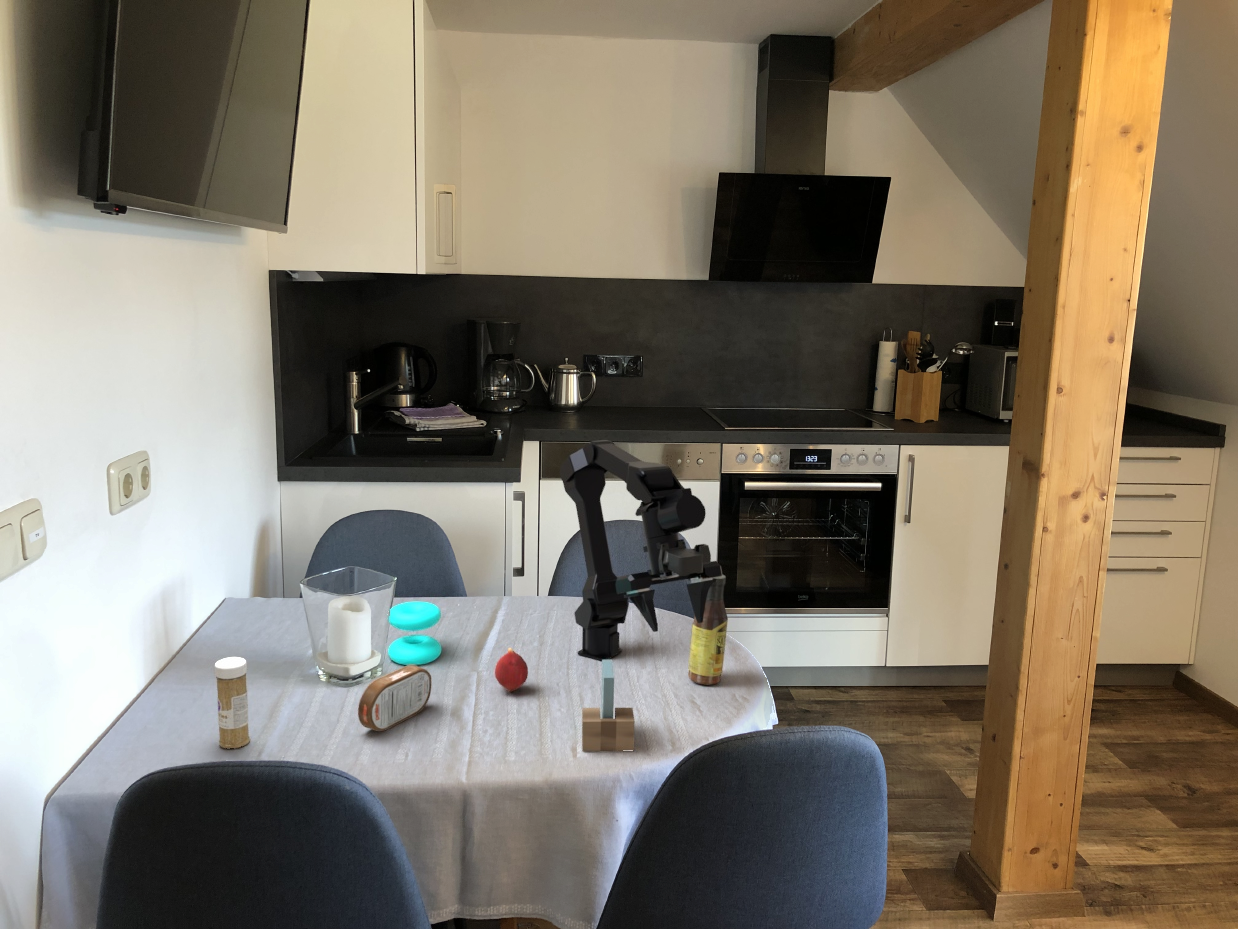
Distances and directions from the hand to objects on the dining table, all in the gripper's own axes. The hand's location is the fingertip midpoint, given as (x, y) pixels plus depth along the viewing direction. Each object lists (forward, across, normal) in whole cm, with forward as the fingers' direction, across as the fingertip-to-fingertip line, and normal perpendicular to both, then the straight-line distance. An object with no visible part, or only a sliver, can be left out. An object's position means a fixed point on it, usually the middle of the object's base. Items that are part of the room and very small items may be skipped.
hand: (678, 627), depth 169 cm
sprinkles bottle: (+6, -69, +24) cm, 73 cm away
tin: (+7, -44, +20) cm, 49 cm away
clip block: (+16, -18, -2) cm, 24 cm away
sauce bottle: (+11, +10, +11) cm, 18 cm away
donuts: (-2, -32, +44) cm, 54 cm away
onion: (+6, -23, +22) cm, 32 cm away
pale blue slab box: (+15, -16, +1) cm, 22 cm away
